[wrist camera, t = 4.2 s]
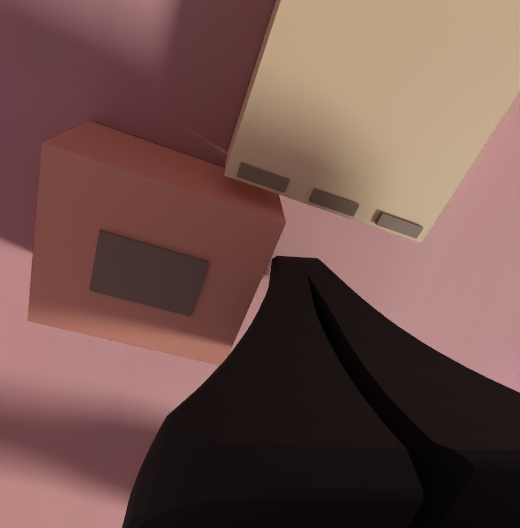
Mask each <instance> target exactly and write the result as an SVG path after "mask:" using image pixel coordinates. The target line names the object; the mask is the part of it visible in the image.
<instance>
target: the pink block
mask: <svg viewBox="0 0 520 528" xmlns="http://www.w3.org/2000/svg"><path fill="white" fill-rule="evenodd" d="M224 172H225V168H224V167H221V166H218V165H215V164H212V163H210V162H207V161H204V160H201V159H198V158H195V157H192V156H189V155H187V154H184V153H181V152H178V151H175V150H172V149H169V148H167V147H164V146H161V145H158V144H155V143H152V142H149V141H146V140H144V139H141V138H138V137H135V136H132V135H129V134H126V133H124V132H121V131H118V130H115V129H112V128H109V127H106V126H103V125H101V124H98V123H95V122H92V121H86V122H84V123H82V124H80V125H78V126H76V127H74V128H71V129H69V130H67V131H65V132H63V133H61V134H59V135H57V136H54V137H52V138H50V139H48V140H46V141H44V142H42V143H41V155H40V168H39V181H38V193H37V206H36V219H35V232H34V245H33V258H32V271H31V283H30V296H29V309H28V321H30V322H35V323H39V324H43V325H48V326H52V327H56V328H61V329H65V330H69V331H73V332H78V333H82V334H86V335H91V336H95V337H99V338H104V339H108V340H112V341H117V342H121V343H125V344H129V345H134V346H138V347H142V348H147V349H151V350H155V351H160V352H164V353H168V354H173V355H177V356H181V357H185V358H190V359H194V360H198V361H203V362H207V363H211V364H216V365H221V364H222V363H223V362H224V361H225V359H226V358H227V357H228V355H229V352H230V350H231V348H232V345H233V343H234V341H235V339H236V336H237V334H238V332H239V329H240V327H241V325H242V322H243V320H244V318H245V316H246V313H247V311H248V309H249V306H250V304H251V302H252V300H253V297H254V295H255V293H256V290H257V288H258V286H259V283H260V281H261V279H262V277H263V274H264V272H265V270H266V267H267V265H268V263H269V260H270V258H271V256H272V254H273V251H274V249H275V247H276V244H277V242H278V240H279V237H280V235H281V233H282V231H283V228H284V226H285V224H286V221H285V217H284V213H283V209H282V205H281V201H280V197H279V194H277V193H274V192H271V191H268V190H265V189H262V188H259V187H256V186H254V185H251V184H248V183H245V182H242V181H239V180H236V179H233V178H230V177H227V176H224Z"/></svg>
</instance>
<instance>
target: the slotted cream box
mask: <svg viewBox="0 0 520 528" xmlns="http://www.w3.org/2000/svg"><path fill="white" fill-rule="evenodd" d="M519 91H520V0H276V2H275V5H274V8H273V11H272V14H271V17H270V21H269V24H268V27H267V30H266V33H265V36H264V39H263V42H262V46H261V49H260V52H259V55H258V58H257V61H256V64H255V67H254V71H253V74H252V77H251V80H250V83H249V86H248V89H247V92H246V96H245V99H244V102H243V105H242V108H241V111H240V114H239V118H238V121H237V124H236V127H235V130H234V133H233V136H232V139H231V143H230V146H229V149H228V152H227V158H226V165H225V172H224V176H227V177H230V178H233V179H236V180H239V181H242V182H245V183H248V184H251V185H254V186H256V187H259V188H262V189H265V190H268V191H271V192H274V193H277V194H280V195H283V196H285V197H288V198H291V199H294V200H297V201H300V202H303V203H306V204H309V205H312V206H315V207H317V208H320V209H323V210H326V211H329V212H332V213H335V214H338V215H341V216H344V217H346V218H349V219H352V220H355V221H358V222H361V223H364V224H367V225H370V226H373V227H376V228H378V229H381V230H384V231H387V232H390V233H393V234H396V235H399V236H402V237H405V238H408V239H410V240H413V241H416V242H419V243H422V241H423V239H424V238H425V236H426V235H427V233H428V232H429V230H430V229H431V227H432V226H433V224H434V222H435V221H436V219H437V218H438V216H439V215H440V213H441V212H442V210H443V209H444V207H445V205H446V204H447V202H448V201H449V199H450V198H451V196H452V195H453V193H454V192H455V190H456V188H457V187H458V185H459V184H460V182H461V181H462V179H463V178H464V176H465V175H466V173H467V171H468V170H469V168H470V167H471V165H472V164H473V162H474V161H475V159H476V158H477V156H478V154H479V153H480V151H481V150H482V148H483V147H484V145H485V144H486V142H487V141H488V139H489V137H490V136H491V134H492V133H493V131H494V130H495V128H496V127H497V125H498V124H499V122H500V120H501V119H502V117H503V116H504V114H505V113H506V111H507V110H508V108H509V106H510V105H511V103H512V102H513V100H514V99H515V97H516V96H517V94H518V93H519Z"/></svg>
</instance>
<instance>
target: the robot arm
mask: <svg viewBox="0 0 520 528" xmlns="http://www.w3.org/2000/svg"><path fill="white" fill-rule="evenodd" d="M122 528H520V393H519V392H517V391H515V390H513V389H510V388H508V387H506V386H504V385H502V384H500V383H497V382H495V381H493V380H491V379H489V378H487V377H485V376H483V375H481V374H479V373H477V372H475V371H473V370H471V369H469V368H467V367H465V366H463V365H461V364H459V363H458V362H456V361H454V360H452V359H450V358H449V357H447V356H445V355H443V354H441V353H440V352H438V351H436V350H434V349H433V348H431V347H429V346H428V345H426V344H424V343H423V342H421V341H420V340H418V339H417V338H415V337H414V336H412V335H410V334H409V333H407V332H406V331H404V330H403V329H401V328H400V327H398V326H397V325H396V324H394V323H393V322H391V321H390V320H389V319H387V318H386V317H385V316H383V315H382V314H381V313H380V312H378V311H377V310H376V309H374V308H373V307H372V306H371V305H369V304H368V303H367V302H366V301H365V300H363V299H362V298H361V297H360V296H359V295H358V294H356V293H355V292H354V291H353V290H352V289H351V288H350V287H349V286H347V285H346V284H345V283H344V282H343V281H342V280H341V279H340V278H339V277H338V276H337V275H336V274H334V273H333V272H332V271H331V270H330V269H329V268H328V267H327V266H326V265H325V264H324V263H323V262H321V261H320V260H319V259H318V258H303V257H287V256H276V257H275V258H273V259H272V264H271V272H270V280H269V287H268V290H267V293H266V296H265V298H264V300H263V302H262V304H261V306H260V309H259V311H258V313H257V314H256V316H255V318H254V320H253V322H252V323H251V325H250V326H249V328H248V330H247V331H246V333H245V334H244V336H243V337H242V339H241V340H240V341H239V343H238V344H237V345H236V347H235V348H234V350H233V351H232V352H231V353H230V355H229V356H228V357H227V358H226V359H225V361H224V362H223V363H222V364H221V365H220V366H219V367H218V368H217V369H216V370H215V371H214V372H213V374H212V375H211V376H210V377H209V378H208V379H207V380H206V381H205V382H204V383H203V384H202V385H201V386H200V387H199V388H198V389H197V390H196V391H195V392H194V393H192V394H191V395H190V396H189V397H188V398H187V399H186V400H185V401H183V402H182V403H181V404H180V405H179V406H178V407H177V408H176V409H174V410H173V411H172V412H171V413H170V414H169V415H168V416H167V417H166V419H165V420H164V422H163V424H162V426H161V428H160V430H159V431H158V433H157V435H156V437H155V439H154V441H153V443H152V445H151V447H150V449H149V451H148V453H147V455H146V457H145V459H144V461H143V464H142V466H141V468H140V471H139V473H138V476H137V478H136V481H135V484H134V486H133V489H132V492H131V495H130V498H129V502H128V506H127V510H126V515H125V519H124V523H123V527H122Z"/></svg>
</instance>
